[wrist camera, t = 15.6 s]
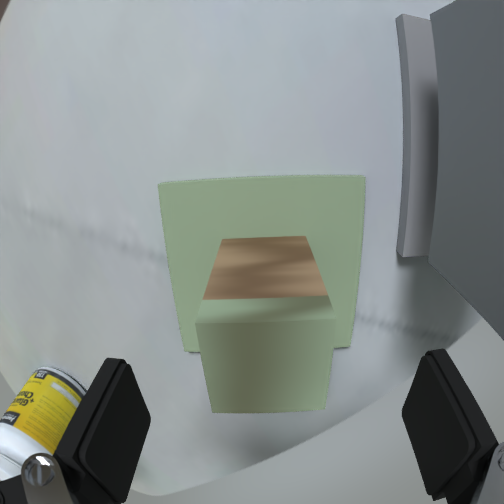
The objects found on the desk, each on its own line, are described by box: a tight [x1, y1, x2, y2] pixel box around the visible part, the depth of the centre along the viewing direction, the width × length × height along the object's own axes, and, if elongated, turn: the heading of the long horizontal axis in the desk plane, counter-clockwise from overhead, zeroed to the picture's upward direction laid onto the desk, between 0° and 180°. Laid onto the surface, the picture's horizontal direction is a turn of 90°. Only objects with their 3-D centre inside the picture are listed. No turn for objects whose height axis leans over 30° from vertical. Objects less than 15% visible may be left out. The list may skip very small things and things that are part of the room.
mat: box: [158, 175, 365, 352], centre depth 18 cm, size 11×11×1 cm
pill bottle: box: [0, 367, 86, 481], centre depth 19 cm, size 6×6×12 cm
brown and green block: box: [195, 236, 336, 413], centre depth 14 cm, size 4×4×8 cm
